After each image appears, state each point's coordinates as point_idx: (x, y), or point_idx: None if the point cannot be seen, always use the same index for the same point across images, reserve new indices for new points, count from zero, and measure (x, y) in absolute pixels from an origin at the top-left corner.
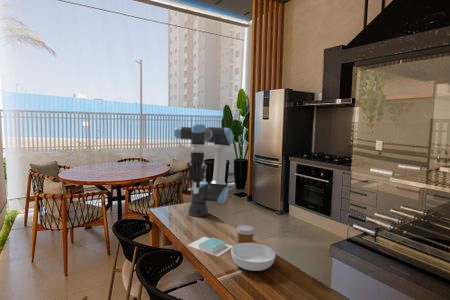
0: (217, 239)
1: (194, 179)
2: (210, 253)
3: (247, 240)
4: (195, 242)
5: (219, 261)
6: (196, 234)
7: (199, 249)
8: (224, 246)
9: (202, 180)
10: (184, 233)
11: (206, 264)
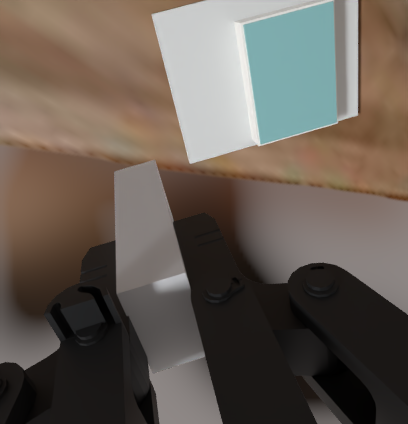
0: (284, 20)
1: (157, 417)
2: None
3: None
4: (189, 112)
5: (377, 127)
6: (80, 24)
7: None
8: None
9: (347, 286)
10: (27, 82)
11: (353, 179)
